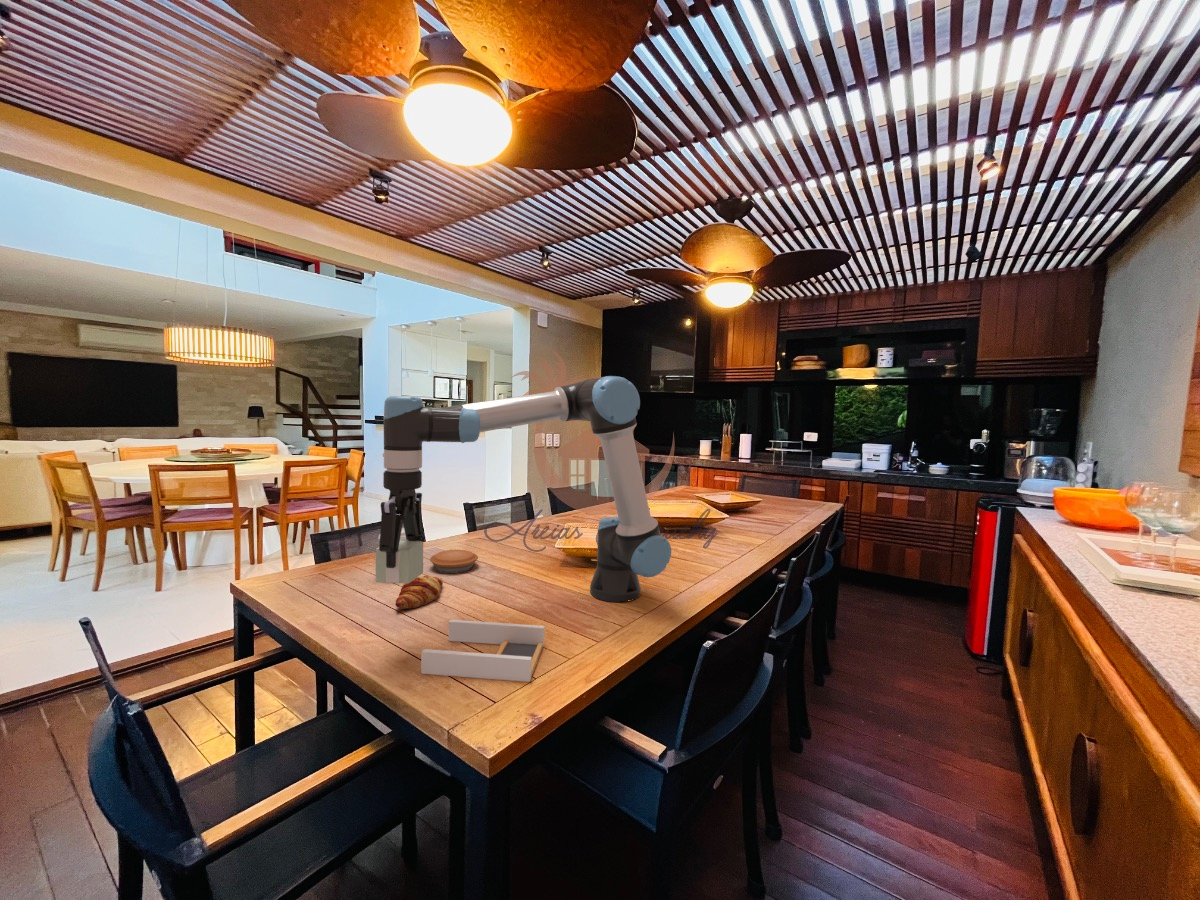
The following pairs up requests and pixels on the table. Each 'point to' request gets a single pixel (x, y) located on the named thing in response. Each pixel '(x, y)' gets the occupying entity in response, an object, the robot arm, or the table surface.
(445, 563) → the pie
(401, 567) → the block
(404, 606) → the croissant
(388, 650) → the table surface
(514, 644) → the drawer
